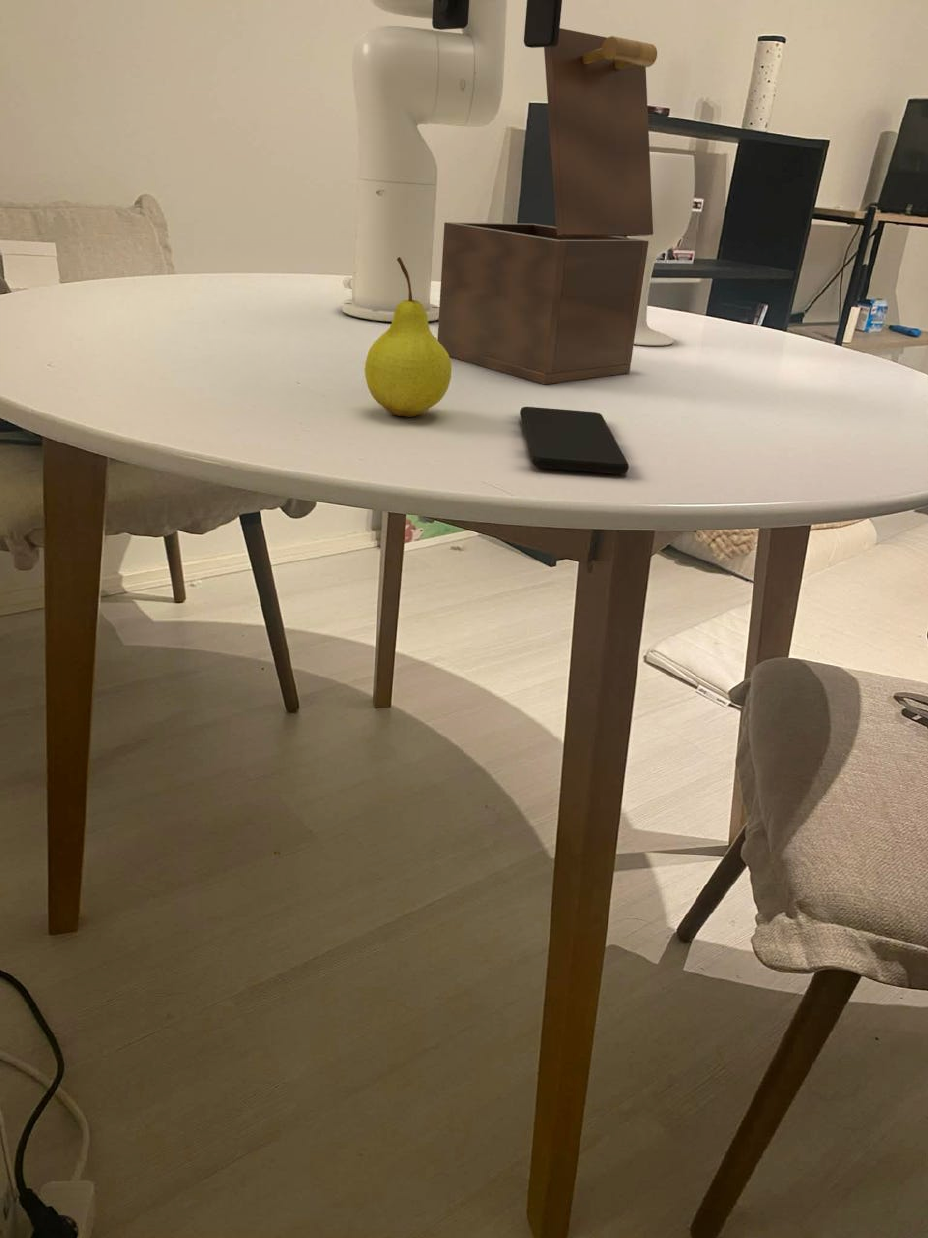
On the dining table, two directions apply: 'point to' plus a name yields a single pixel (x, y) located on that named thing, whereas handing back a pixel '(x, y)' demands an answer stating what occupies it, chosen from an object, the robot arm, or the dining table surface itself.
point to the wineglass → (665, 225)
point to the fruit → (408, 362)
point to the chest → (540, 300)
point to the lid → (600, 134)
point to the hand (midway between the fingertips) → (496, 37)
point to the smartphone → (571, 441)
